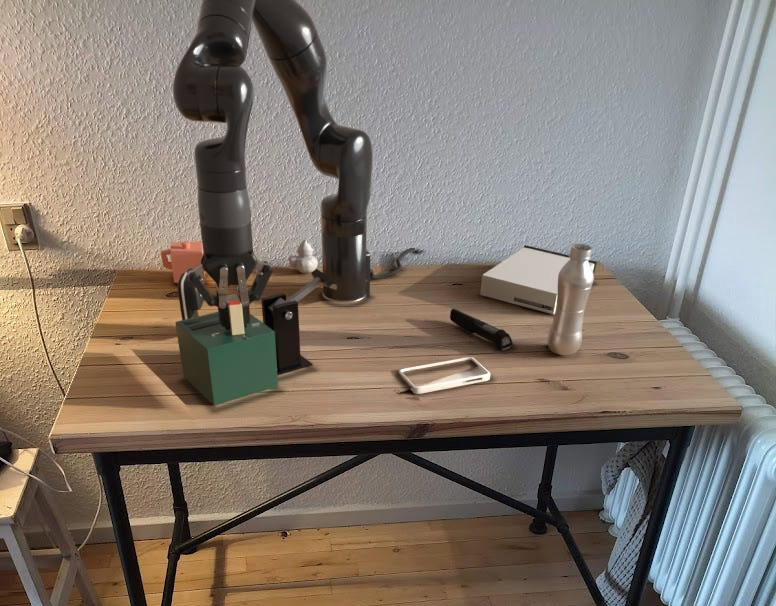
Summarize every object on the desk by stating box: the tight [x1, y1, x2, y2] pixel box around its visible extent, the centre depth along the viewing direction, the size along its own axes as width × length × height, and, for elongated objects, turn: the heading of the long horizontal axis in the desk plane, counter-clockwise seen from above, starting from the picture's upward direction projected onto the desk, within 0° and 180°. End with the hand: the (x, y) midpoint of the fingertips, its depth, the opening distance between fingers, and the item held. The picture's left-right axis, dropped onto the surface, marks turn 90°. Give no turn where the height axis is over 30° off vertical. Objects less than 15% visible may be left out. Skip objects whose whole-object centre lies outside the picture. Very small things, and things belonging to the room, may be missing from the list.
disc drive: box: [479, 244, 598, 315], centre depth 170 cm, size 18×22×5 cm
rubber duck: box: [288, 237, 319, 274], centre depth 173 cm, size 5×7×8 cm
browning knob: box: [227, 293, 244, 335], centre depth 124 cm, size 4×2×5 cm, turn 21°
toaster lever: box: [268, 268, 334, 316], centre depth 133 cm, size 12×5×2 cm, turn 126°
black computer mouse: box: [177, 272, 205, 320], centre depth 145 cm, size 7×4×11 cm, turn 2°
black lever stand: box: [260, 292, 313, 377], centre depth 135 cm, size 8×7×13 cm
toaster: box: [175, 311, 279, 406], centre depth 129 cm, size 12×12×11 cm
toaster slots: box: [183, 313, 220, 330], centre depth 128 cm, size 9×4×1 cm, turn 126°
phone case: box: [398, 356, 491, 395], centre depth 137 cm, size 7×1×15 cm
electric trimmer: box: [449, 308, 513, 351], centre depth 151 cm, size 4×16×3 cm, turn 39°
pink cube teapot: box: [160, 240, 207, 285], centre depth 167 cm, size 8×12×8 cm, turn 102°
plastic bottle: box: [546, 243, 595, 356], centre depth 141 cm, size 6×7×20 cm
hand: (235, 326), depth 125 cm, fingers closed on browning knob, 2 cm apart
